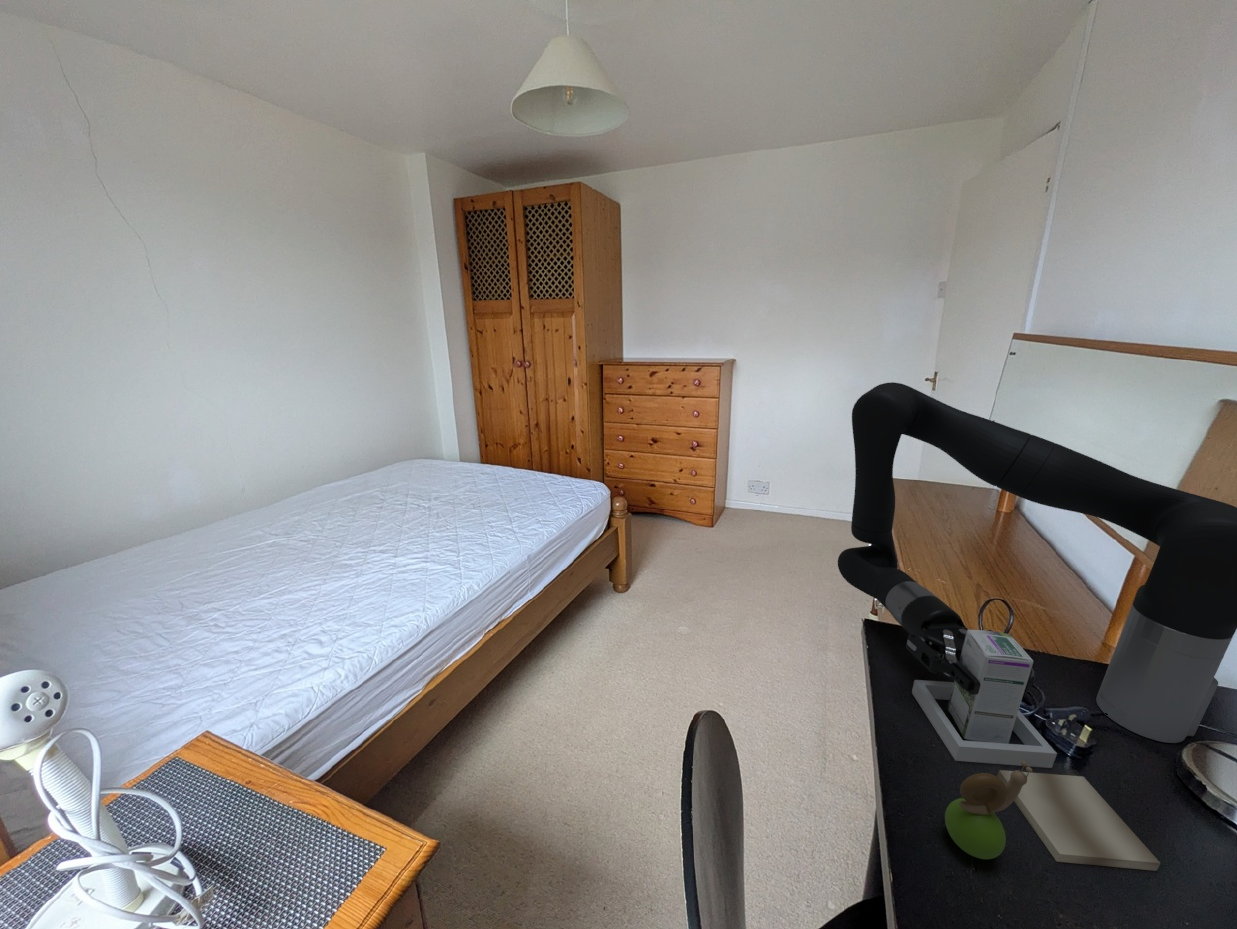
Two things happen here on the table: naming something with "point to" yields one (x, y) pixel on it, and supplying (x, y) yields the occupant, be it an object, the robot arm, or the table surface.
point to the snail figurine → (982, 812)
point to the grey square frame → (983, 752)
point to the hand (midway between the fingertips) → (1003, 688)
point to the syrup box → (990, 686)
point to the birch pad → (1079, 823)
